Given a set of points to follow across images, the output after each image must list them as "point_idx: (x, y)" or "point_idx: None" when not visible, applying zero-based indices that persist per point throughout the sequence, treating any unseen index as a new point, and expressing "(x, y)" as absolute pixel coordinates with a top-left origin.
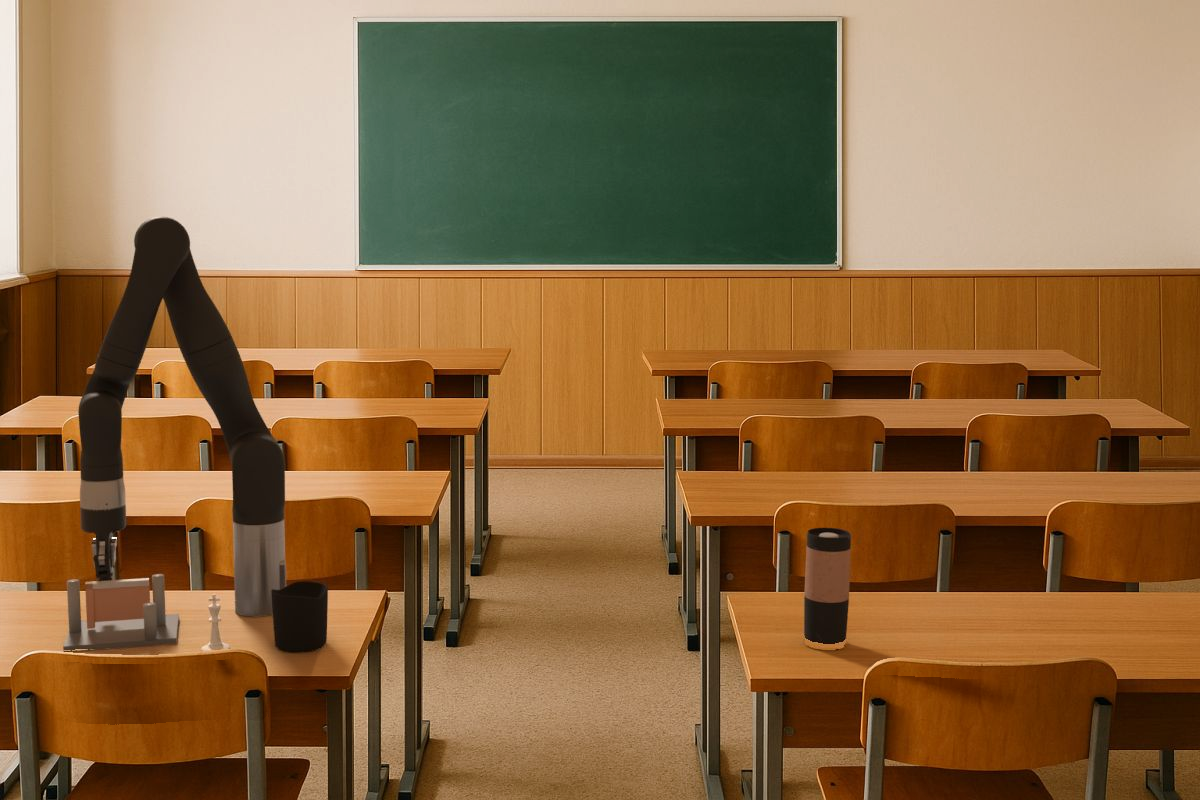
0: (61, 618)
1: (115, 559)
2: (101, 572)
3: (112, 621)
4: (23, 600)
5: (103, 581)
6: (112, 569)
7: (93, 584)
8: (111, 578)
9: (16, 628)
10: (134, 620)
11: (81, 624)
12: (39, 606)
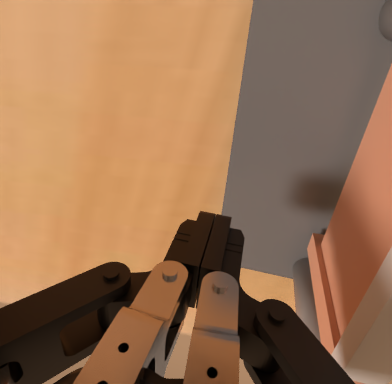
0: (143, 259)
1: (139, 325)
2: (276, 365)
3: (259, 179)
4: (18, 290)
5: (373, 352)
6: (179, 294)
7: (384, 381)
8: (227, 275)
9: (188, 326)
10: (281, 113)
11: (252, 249)
12: (55, 277)
